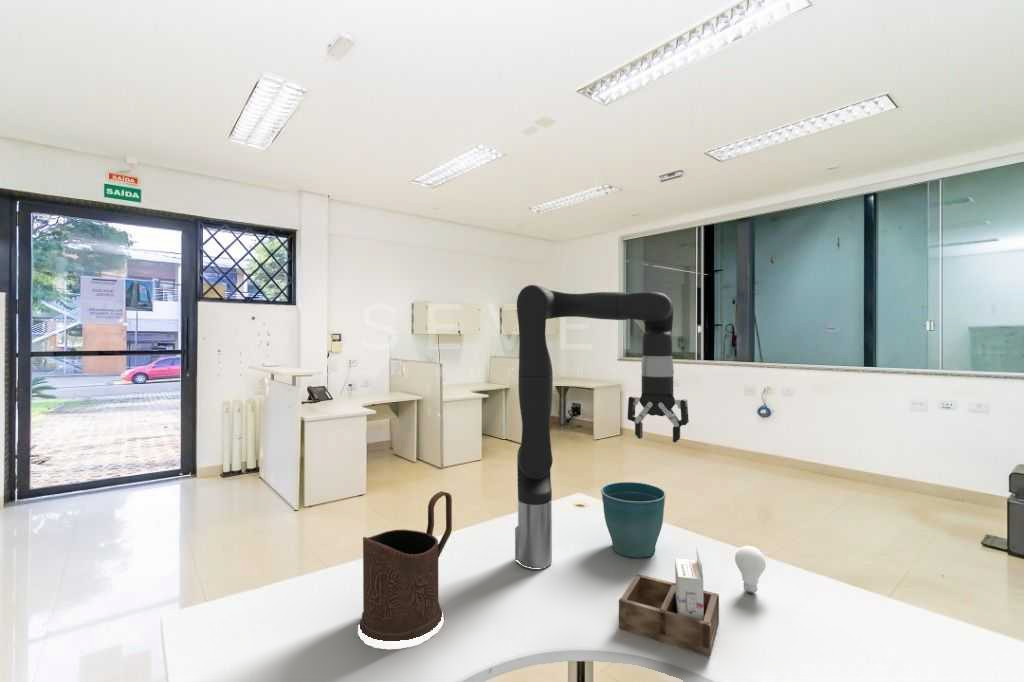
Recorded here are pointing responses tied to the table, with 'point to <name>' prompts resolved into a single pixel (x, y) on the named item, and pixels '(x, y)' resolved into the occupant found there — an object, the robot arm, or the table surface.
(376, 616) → the cup holder
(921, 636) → the table surface
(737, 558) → the light bulb
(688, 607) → the ink cartridge box
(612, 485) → the flower pot
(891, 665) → the table surface
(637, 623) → the walnut rack
